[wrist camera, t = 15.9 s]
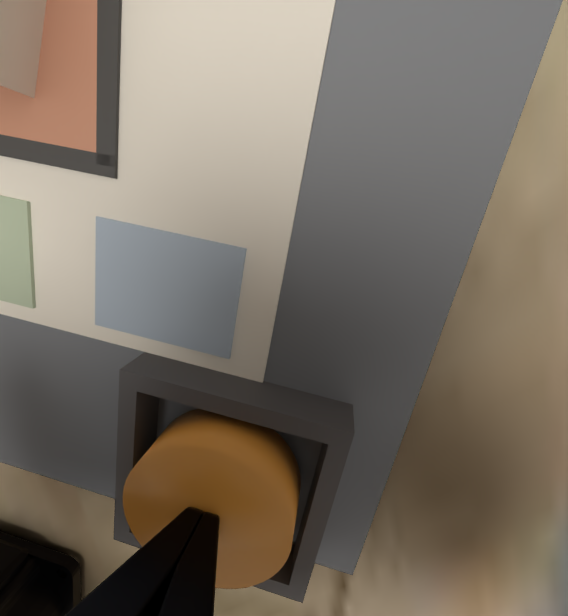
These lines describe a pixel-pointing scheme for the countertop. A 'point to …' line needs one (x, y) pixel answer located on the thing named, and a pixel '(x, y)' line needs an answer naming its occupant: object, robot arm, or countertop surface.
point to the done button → (220, 491)
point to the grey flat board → (247, 231)
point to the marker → (20, 43)
